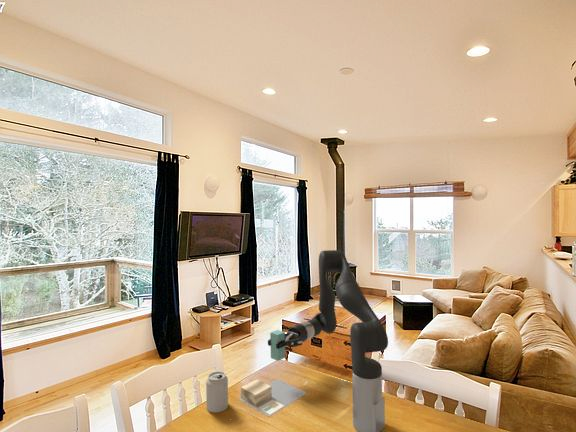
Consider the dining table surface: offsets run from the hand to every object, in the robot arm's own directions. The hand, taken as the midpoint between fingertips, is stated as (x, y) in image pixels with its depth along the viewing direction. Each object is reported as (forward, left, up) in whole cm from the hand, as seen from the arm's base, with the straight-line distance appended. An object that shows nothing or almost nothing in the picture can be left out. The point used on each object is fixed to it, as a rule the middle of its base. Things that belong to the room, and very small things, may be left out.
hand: (272, 344), depth 130 cm
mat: (-4, +4, -18) cm, 19 cm away
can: (+6, +22, -18) cm, 29 cm away
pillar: (0, -3, -6) cm, 7 cm away
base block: (0, +9, -17) cm, 19 cm away
